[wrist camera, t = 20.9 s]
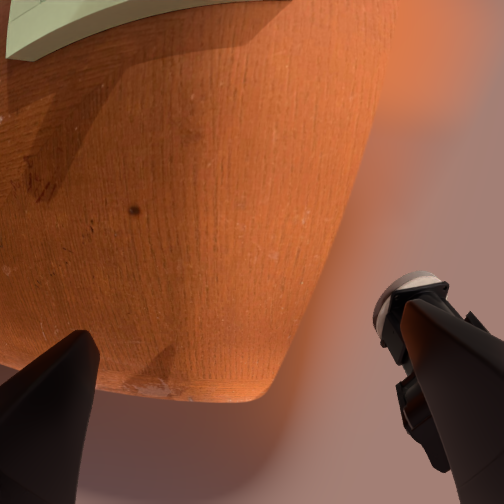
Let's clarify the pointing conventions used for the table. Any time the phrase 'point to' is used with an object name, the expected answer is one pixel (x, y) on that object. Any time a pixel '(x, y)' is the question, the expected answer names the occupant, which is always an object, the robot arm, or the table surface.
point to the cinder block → (77, 21)
